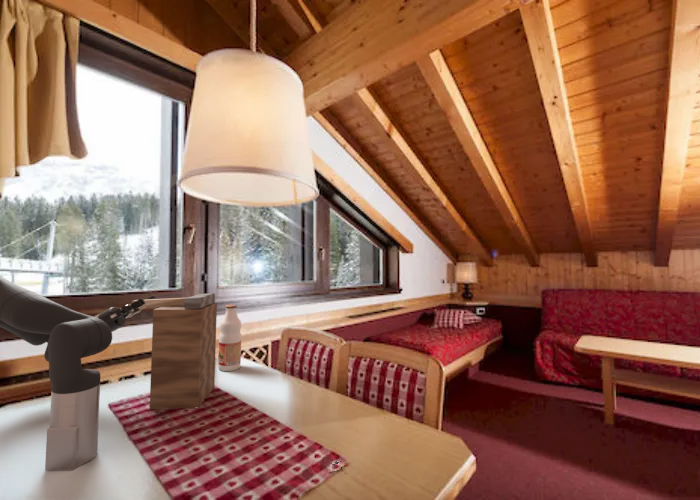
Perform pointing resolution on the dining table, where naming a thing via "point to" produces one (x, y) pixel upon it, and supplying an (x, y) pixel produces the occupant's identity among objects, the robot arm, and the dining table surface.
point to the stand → (182, 356)
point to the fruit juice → (230, 341)
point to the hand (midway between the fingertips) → (149, 299)
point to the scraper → (182, 301)
